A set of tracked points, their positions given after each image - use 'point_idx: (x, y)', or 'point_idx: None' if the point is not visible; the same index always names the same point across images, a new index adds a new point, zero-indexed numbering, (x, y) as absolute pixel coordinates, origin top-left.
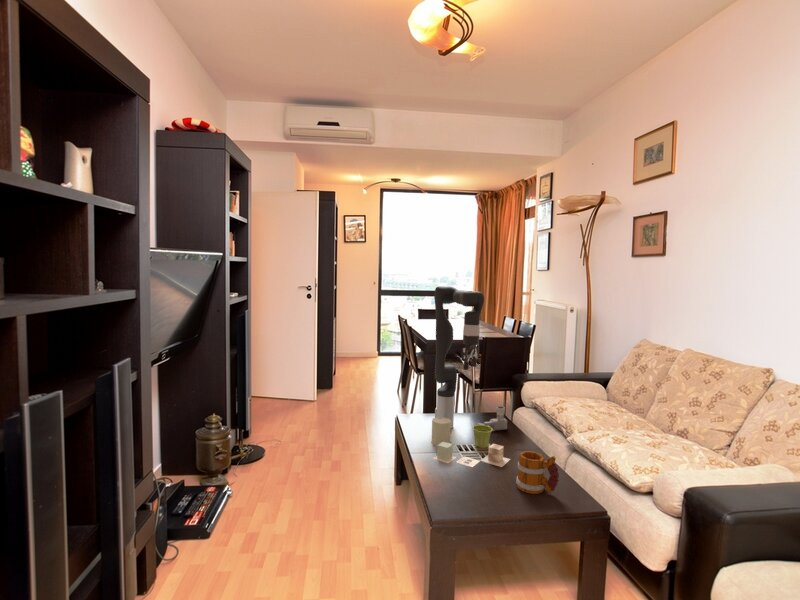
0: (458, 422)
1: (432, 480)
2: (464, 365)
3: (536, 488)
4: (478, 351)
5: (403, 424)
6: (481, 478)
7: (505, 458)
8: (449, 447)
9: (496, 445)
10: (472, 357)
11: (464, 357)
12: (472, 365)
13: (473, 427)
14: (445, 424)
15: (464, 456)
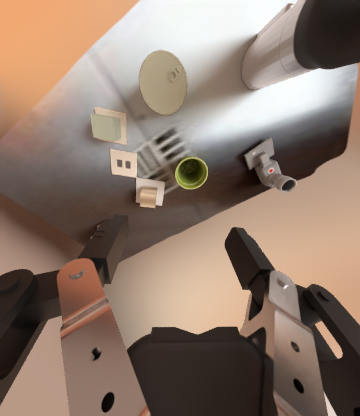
0: (289, 91)
1: (35, 136)
2: (92, 241)
3: None
4: (323, 378)
5: None
6: (94, 189)
7: (160, 201)
8: (102, 138)
9: (152, 200)
10: (265, 284)
11: (63, 312)
12: (233, 234)
13: (189, 158)
14: (148, 105)
15: (136, 154)
